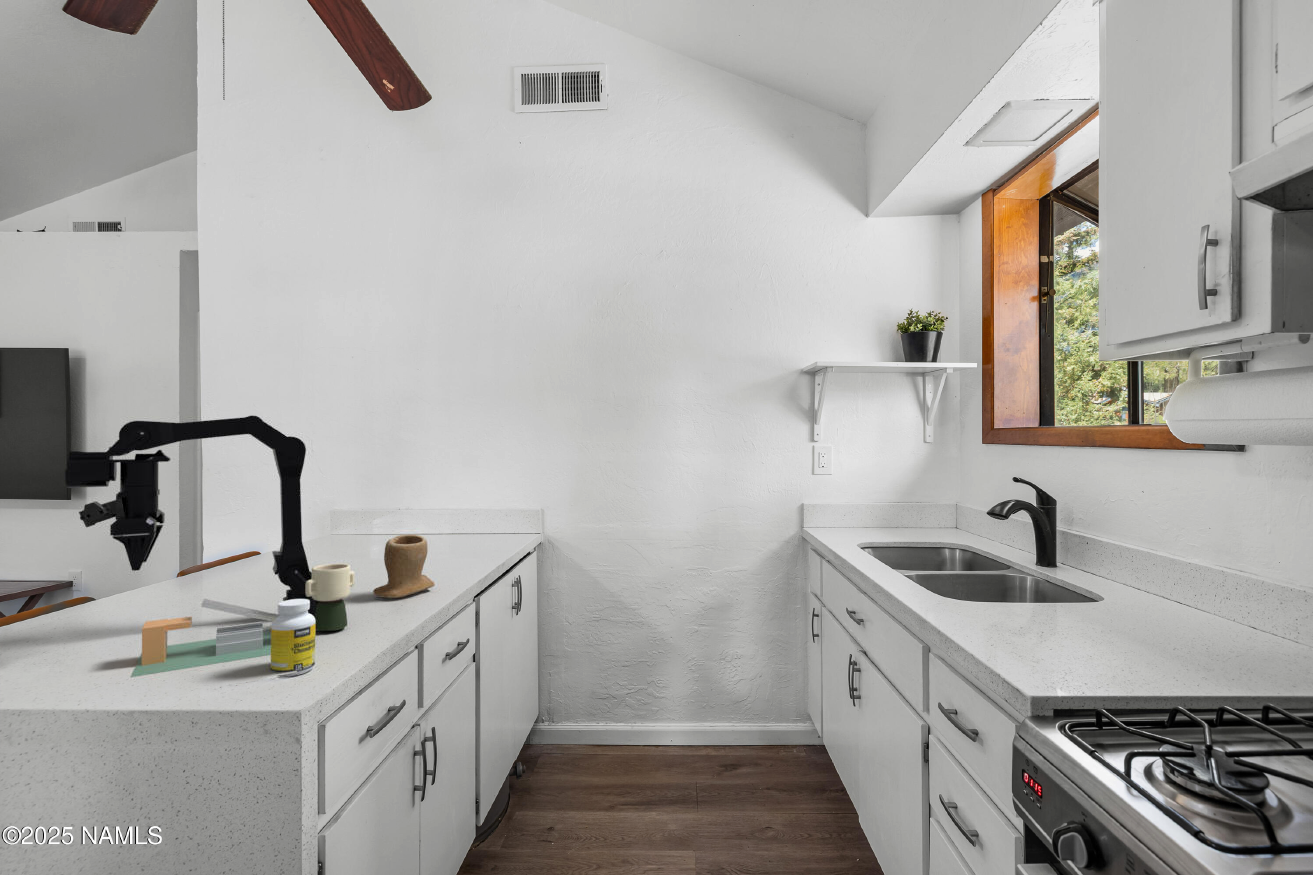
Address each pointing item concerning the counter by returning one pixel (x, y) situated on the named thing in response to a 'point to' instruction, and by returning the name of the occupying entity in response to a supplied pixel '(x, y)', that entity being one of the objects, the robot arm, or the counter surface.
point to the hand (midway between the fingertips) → (139, 566)
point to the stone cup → (404, 567)
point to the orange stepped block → (159, 638)
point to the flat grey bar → (239, 610)
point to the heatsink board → (213, 649)
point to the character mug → (330, 594)
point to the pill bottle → (293, 638)
